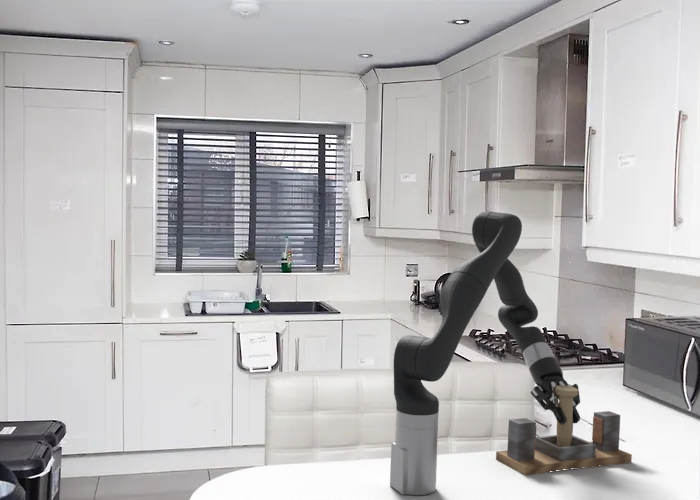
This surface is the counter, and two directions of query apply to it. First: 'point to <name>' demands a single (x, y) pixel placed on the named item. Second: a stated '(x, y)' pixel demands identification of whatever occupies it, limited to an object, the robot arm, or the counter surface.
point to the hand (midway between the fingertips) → (570, 422)
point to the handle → (566, 405)
